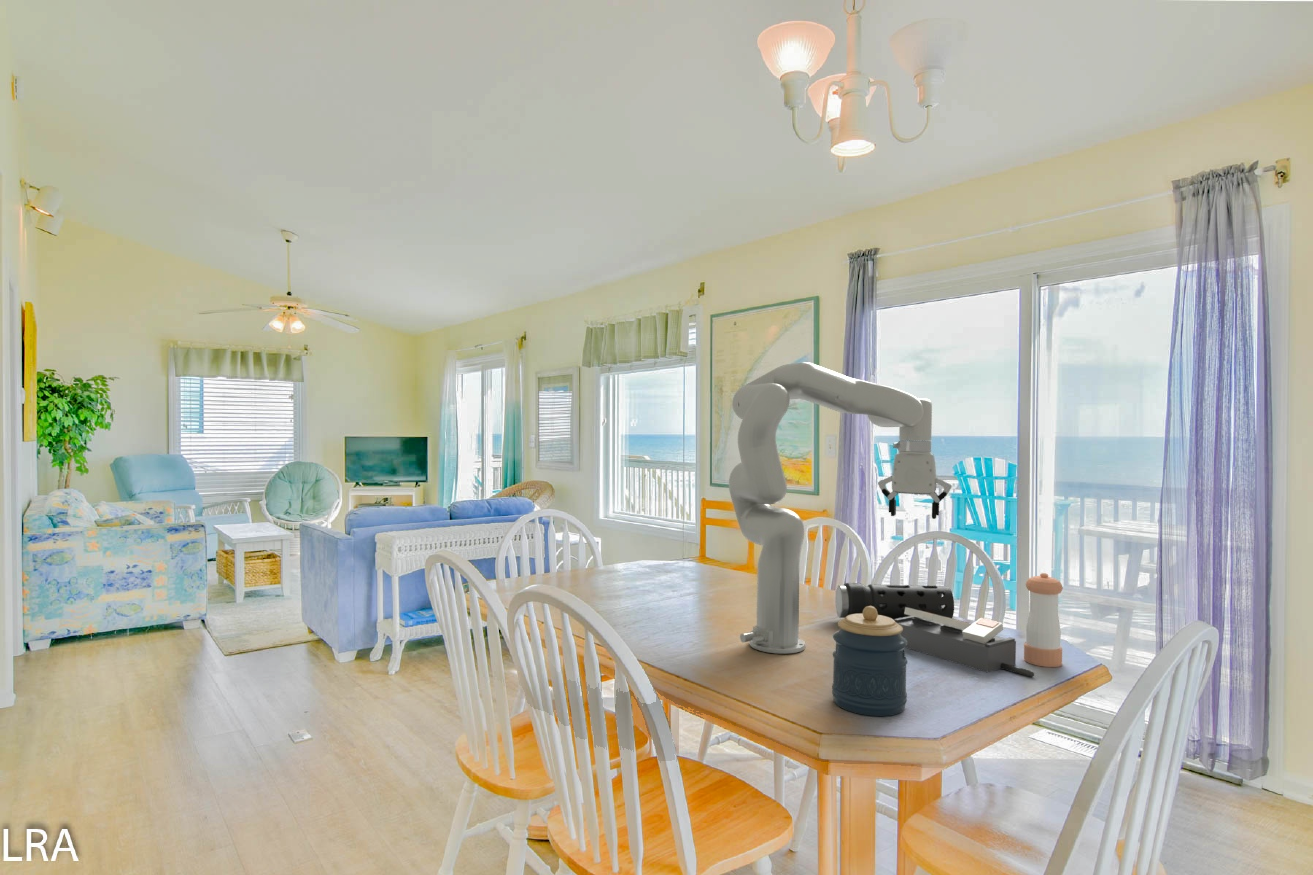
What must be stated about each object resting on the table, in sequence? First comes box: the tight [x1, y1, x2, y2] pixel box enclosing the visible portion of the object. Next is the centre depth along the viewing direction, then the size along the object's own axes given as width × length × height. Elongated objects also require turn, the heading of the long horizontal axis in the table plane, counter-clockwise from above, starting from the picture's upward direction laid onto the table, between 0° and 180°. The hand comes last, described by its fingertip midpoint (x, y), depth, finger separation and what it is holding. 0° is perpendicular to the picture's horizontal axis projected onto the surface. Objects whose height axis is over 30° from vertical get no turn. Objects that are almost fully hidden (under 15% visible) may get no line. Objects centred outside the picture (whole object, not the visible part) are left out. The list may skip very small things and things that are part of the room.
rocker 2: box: [932, 614, 972, 630], centre depth 163 cm, size 7×5×2 cm
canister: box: [831, 606, 908, 717], centre depth 131 cm, size 13×13×18 cm
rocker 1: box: [904, 607, 941, 624], centre depth 169 cm, size 7×5×2 cm
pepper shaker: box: [1023, 572, 1064, 668], centre depth 157 cm, size 7×7×19 cm
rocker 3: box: [962, 617, 1004, 644], centre depth 156 cm, size 7×5×2 cm
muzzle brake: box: [834, 582, 955, 620], centre depth 188 cm, size 10×28×10 cm, turn 89°
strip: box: [894, 616, 1035, 678], centre depth 160 cm, size 10×31×6 cm, turn 33°
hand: (913, 516), depth 181 cm, fingers open, 9 cm apart
